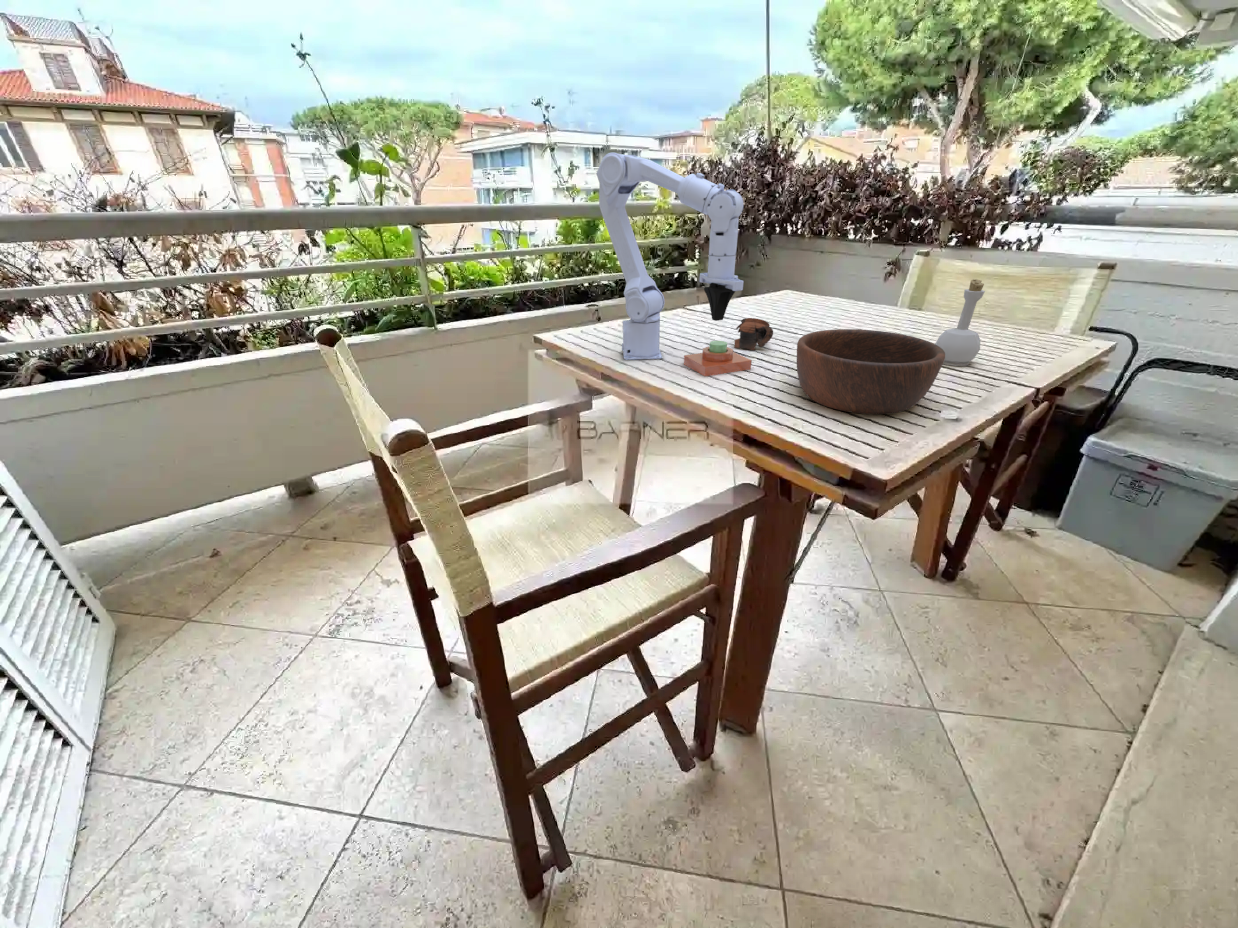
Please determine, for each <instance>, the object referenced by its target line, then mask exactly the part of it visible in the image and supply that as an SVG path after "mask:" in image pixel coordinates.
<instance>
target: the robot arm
mask: <svg viewBox="0 0 1238 928" xmlns="http://www.w3.org/2000/svg"><path fill="white" fill-rule="evenodd" d="M596 177H597V180H598V183H599V184H598V185H599V188H598V189H599V190H598V200H599V201H598V206H599V210H600V212H601V216H602V218H603V222H604V224H605V227H606V230H607V232H608V235H609V238H610V241H611V243H612V247H613V249H614V252H615V255H616V258H617V261H618V264H619V266H620V270H621V272H622V275H623V278H624V280H625V286H624V287H625V288H624V291H623V296H624V299H625V312H626V314H627V316H628V317H629V319H625V320H622V343H621V351H622V353H623V360H625V361H626V360H627V361H628V360H629V361H630V360H662V359H663V355H662V351H661V349H660V343H661V342H660V339H661V338H660V337H661V336H660V333H661V312H662V311H663V310H664V308H665V303H666V301H665V300H666V299H665V297H664V294H663V293H662V291H661V290H660V289H659V288H658V286H657V284H656V281H655V280H654V279H653V278H652V277H651V276H650V275H649V274H648V271H647V269H646V266H645V263H644V259H643V257H642V254H641V251H640V247H639V245H638V242H637V240H636V236H635V232H634V230H633V227H632V224H631V222H630V218H629V216H628V213H627V208H626V204H627V202H628V200H629V198H630V196H631V194H632V193H633V192H634V191H635V189H636V188H637V187H638V186H639V184H640V183H645V182H648V183H652V184H654V185H656V186H659V187H660V188H664V189H665V190H668V191H670V192H673V193H676V194H677V197H678V200H679V202H680V203H681V204H683V205H684V206H686V207H689V208H691V209H693V210H695V211H697V212H699V213H702V214H703V215H705V216H708V218H709V219H710V231H709V244H708V245H709V246H708V260H707V261H708V263H707V272H700V273H699V283H706V284H709V286H705V287H704V288H703V291H704V293H705V295H706V299H707V300H708V304H709V309H710V314H711V319H712V321H715V322H717V321H718V322H719V321H723V320H724V317H725V314H726V311H727V309H728V306H729V304H730V301H731V300H732V297H733V296H734V295H735V293H736V292H741V291H744V283H745V282H744V281H745V280H742V279H740V278H739V276H738V275H735V270H736V261H737V258H736V257H737V250H738V249H737V248H738V237H739V222H740V221H739V219H740V218H739V217H740V216H741V215H742V213H743V211H744V199H743V196H742V195H741V194H740V193H739V192H738V191H736V190H735V189H726V190H725V184H723V183H721V182H720V183H718V184H717V183H714V182H712V181H710V180H708V179H706V178H705V174H703V173H701V172H697V173H696V174H695V173H691V174H688V175H686V176H685V177H684V176H683V175H680V174H679V173H676V172H675V171H673V170H671V169H669V168H667V167H665V166H663V165H661V164H659V163H657V162H655V161H653V160H651V159H649V158H645V157H641V156H637V155H636V154H622V153H617V152H608V153H606V154H605V155H604V156H603V157H602V159H601V161H600V163H599V166H598V168H597V171H596Z"/></svg>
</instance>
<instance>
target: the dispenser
mask: <svg viewBox="0 0 1238 928" xmlns="http://www.w3.org/2000/svg"><path fill="white" fill-rule="evenodd" d="M683 365H684V366H686V367H687V368H689V369H691V370H693V371H694V372H697V373H698V374H700V375H702V376H703V377H710V376H711V377H712V376H716V375H724V374H729V373H737V372H742V371H748V370H749V371H750V370H751V369H752V359H750V358H747V357H745V356H743V355H741V354H739V353H737V352H734V349H733V348H730V347H729V346H727V352H724V353H714V352H710V351H709V346H705V347H703V348H702V352H699V353H691V354H684V355H683Z"/></svg>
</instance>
